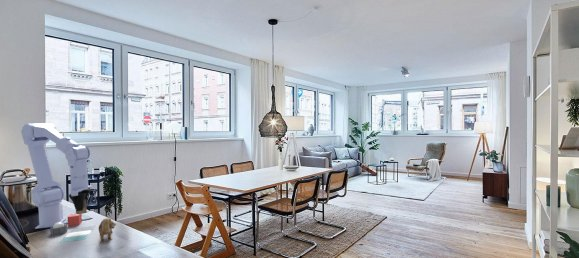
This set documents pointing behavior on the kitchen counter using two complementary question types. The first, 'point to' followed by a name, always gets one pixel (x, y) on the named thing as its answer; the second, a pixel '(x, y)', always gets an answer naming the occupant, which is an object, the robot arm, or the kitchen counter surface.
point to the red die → (74, 219)
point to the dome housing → (58, 230)
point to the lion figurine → (106, 228)
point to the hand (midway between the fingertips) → (81, 209)
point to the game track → (78, 234)
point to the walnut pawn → (83, 209)
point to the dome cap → (58, 225)
